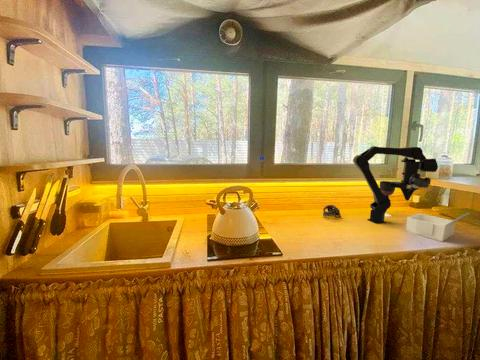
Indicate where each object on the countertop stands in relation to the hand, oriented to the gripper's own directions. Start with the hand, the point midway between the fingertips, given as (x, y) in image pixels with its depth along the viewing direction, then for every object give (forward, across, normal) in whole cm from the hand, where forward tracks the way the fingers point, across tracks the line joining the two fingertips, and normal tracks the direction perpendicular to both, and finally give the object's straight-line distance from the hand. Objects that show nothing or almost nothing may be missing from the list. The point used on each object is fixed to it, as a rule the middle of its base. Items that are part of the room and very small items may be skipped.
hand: (407, 200), depth 123 cm
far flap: (+3, +3, -22) cm, 22 cm away
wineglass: (+13, +3, +16) cm, 21 cm away
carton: (+13, 0, -14) cm, 19 cm away
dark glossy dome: (+13, -32, +18) cm, 39 cm away
